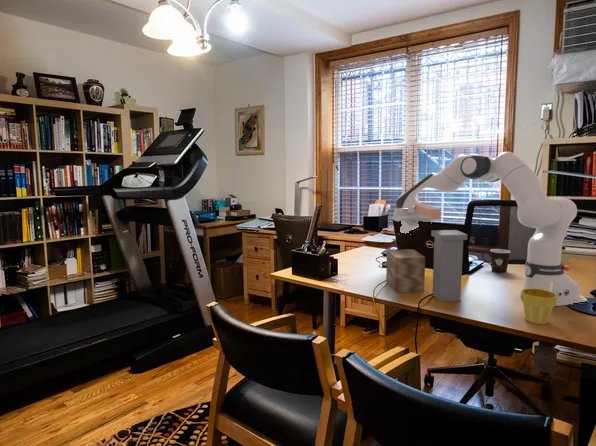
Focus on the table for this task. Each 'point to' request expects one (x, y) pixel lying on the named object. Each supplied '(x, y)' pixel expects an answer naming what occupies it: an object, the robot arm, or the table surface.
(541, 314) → the plant pot
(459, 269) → the pedestal shelf
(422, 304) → the table surface
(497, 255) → the coffee mug
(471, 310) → the table surface
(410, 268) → the walnut block
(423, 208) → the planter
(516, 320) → the table surface
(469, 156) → the robot arm
